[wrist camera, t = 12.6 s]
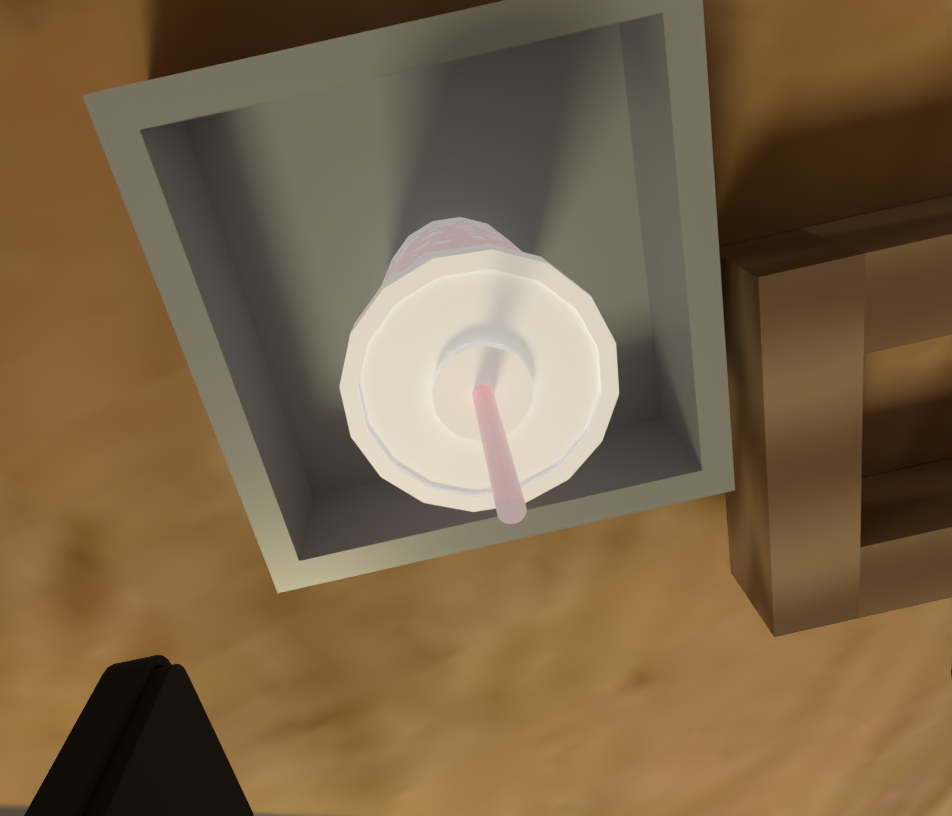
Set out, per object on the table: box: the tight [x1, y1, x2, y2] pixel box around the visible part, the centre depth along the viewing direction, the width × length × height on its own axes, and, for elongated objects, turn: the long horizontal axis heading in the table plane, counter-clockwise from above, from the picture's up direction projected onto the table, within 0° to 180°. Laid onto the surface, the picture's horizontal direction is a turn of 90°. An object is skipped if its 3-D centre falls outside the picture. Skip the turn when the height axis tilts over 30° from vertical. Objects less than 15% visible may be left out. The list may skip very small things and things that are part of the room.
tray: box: [82, 0, 735, 593], centre depth 23 cm, size 15×15×5 cm
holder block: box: [719, 195, 952, 637], centre depth 27 cm, size 14×14×4 cm
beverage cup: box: [339, 217, 619, 524], centre depth 18 cm, size 6×6×14 cm
